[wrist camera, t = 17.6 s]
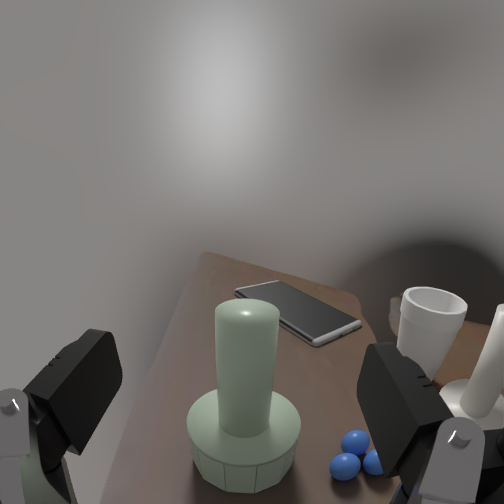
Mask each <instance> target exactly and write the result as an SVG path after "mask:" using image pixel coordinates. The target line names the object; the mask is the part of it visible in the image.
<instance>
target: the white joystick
mask: <svg viewBox="0 0 504 504" xmlns="http://www.w3.org/2000/svg"><path fill="white" fill-rule="evenodd" d="M503 389H504V304H501V305H499V306H498V307H497V311H496V314H495V317H494V320H493V323H492V326H491V329H490V332H489V334H488V337H487V340H486V343H485V345H484V348H483V350H482V353H481V355H480V358H479V360H478V362H477V365H476V367H475V369H474V372H473V374H472V376H471V378H470V379H459V380H455V381H452V382H449V383H448V384H446V385H445V386H444V387H443V388H442V389H441V391H440V392H439V394H440V395H441V397H442V398H443V400H444V401H445V403H446V404H447V406H448V407H449V409H450V410H451V412H452V414H453V415H454V417H465V418H468V419H471V420H473V421H474V422H476V423H477V424H478V425H479V426H480V427H481V428H482V430H493V429H503V427H504V397H503V396H502V395H501V392H502V390H503Z"/></svg>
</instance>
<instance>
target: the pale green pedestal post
mask: <svg viewBox="0 0 504 504" xmlns="http://www.w3.org/2000/svg"><path fill="white" fill-rule="evenodd" d="M279 316H280V312H279V310H278V308H277V307H275V306H274V305H272V304H270V303H268V302H265V301H261V300H256V299H234V300H229V301H226V302H223V303H221V304H220V305H218V306H217V307H216V309H215V340H216V372H217V389H216V390H213V391H211V392H209V393H207V394H205V395H204V396H202V397H201V398H199V399H198V400H197V401H196V402H195V403H194V404H193V405H192V407H191V409H190V411H189V413H188V417H187V429H188V435H189V440H190V446H191V451H192V456H193V461H194V463H195V465H196V467H197V468H198V470H199V472H200V474H201V476H202V478H203V479H204V480H206V481H208V482H209V483H211V484H213V485H214V486H216V487H218V488H220V489H222V490H223V491H226V492H236V493H257V492H259V491H262V490H264V489H267V488H269V487H271V486H274V485H276V484H278V483H279V482H280V481H281V480H282V478H283V477H284V476H285V474H286V473H287V471H288V470H289V468H290V467H291V465H292V461H293V457H294V453H295V449H296V445H297V441H298V437H299V433H300V427H301V421H300V417H299V414H298V412H297V410H296V408H295V407H294V406H293V405H292V403H291V402H290V401H288V400H287V399H286V398H284V397H283V396H281V395H280V394H278V393H276V392H273V391H272V390H273V380H274V371H275V360H276V350H277V339H278V328H279Z"/></svg>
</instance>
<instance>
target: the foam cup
mask: <svg viewBox="0 0 504 504" xmlns="http://www.w3.org/2000/svg"><path fill="white" fill-rule="evenodd" d="M400 311H401V318H400V326H399V334H398V341H397V348H398V350H399V351H400V353H401V354H402V355H403V356H408V357H409V358H410V359H412V360H413V361H415V362H416V363H417V364H419V365H420V367H421V368H422V370H423V371H424V372H425V374H426V377H428V378H429V379H430V381H431V382H432V380H433V378H434V376H435V375H436V373H437V371H438V369H439V368H440V366H441V364H442V362H443V360H444V358H445V357H446V355H447V353H448V351H449V349H450V347H451V345H452V343H453V341H454V339H455V337H456V335H457V333H458V330H459V328H461V327H462V324H463V321H464V318H465V314H466V311H467V304H466V303H465V302H464V300H462V299H461V298H460V297H458V296H456V295H454V294H452V293H450V292H447V291H444V290H440V289H435V288H430V287H413V288H409V289H407V290H406V291H405V292H404V294H403V299H402V303H401V308H400Z"/></svg>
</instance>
